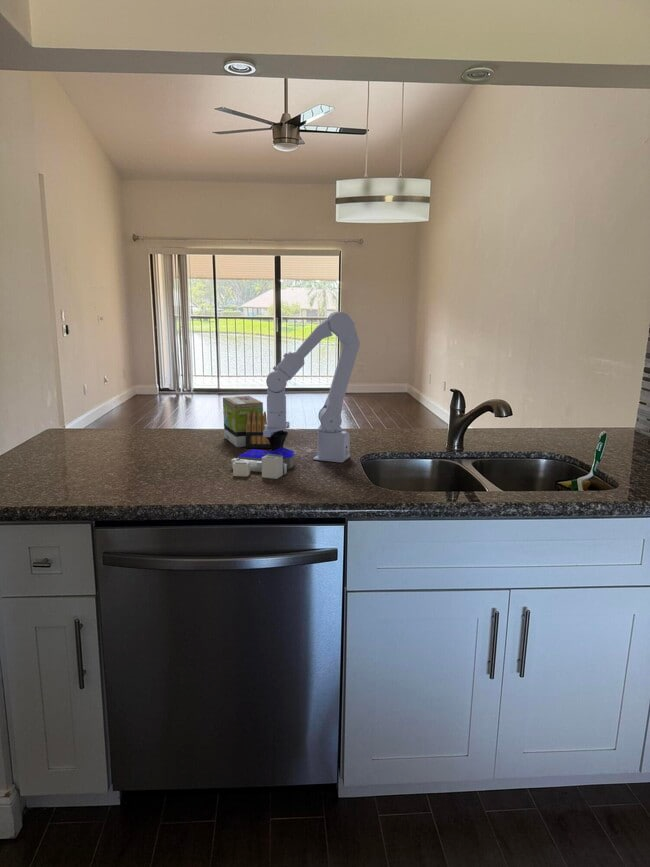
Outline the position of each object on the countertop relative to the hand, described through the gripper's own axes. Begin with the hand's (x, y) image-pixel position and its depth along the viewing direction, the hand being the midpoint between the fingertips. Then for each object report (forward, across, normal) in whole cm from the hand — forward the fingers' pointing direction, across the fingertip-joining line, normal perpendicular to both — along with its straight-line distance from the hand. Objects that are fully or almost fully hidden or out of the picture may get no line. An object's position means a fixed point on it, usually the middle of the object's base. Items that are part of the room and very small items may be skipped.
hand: (277, 455), depth 177 cm
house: (+2, +7, +1) cm, 7 cm away
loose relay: (+1, +19, -2) cm, 19 cm away
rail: (+1, +14, +1) cm, 14 cm away
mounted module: (+1, +17, +6) cm, 18 cm away
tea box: (+1, -17, -21) cm, 27 cm away
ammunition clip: (+1, -11, -10) cm, 15 cm away
